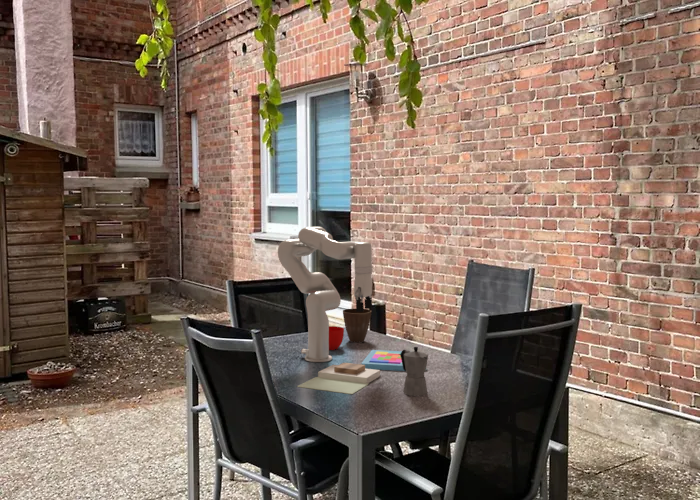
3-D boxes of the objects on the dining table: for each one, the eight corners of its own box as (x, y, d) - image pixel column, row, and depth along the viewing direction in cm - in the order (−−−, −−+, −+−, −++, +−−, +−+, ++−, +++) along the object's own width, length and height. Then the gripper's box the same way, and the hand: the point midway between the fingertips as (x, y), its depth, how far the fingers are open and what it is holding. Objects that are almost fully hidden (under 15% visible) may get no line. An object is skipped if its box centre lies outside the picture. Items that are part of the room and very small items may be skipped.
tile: (334, 371, 291) (334, 367, 290) (343, 367, 299) (343, 362, 298) (356, 374, 286) (356, 369, 286) (365, 369, 294) (365, 364, 294)
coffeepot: (436, 395, 266) (436, 348, 265) (417, 399, 261) (417, 351, 259) (410, 386, 279) (410, 341, 277) (391, 389, 273) (391, 344, 272)
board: (318, 377, 291) (318, 371, 290) (333, 370, 303) (333, 364, 303) (366, 384, 281) (366, 377, 281) (380, 376, 294) (380, 370, 294)
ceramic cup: (352, 346, 352) (352, 326, 351) (335, 352, 337) (335, 332, 336) (330, 343, 358) (330, 324, 358) (312, 349, 344) (312, 329, 343)
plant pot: (371, 344, 357) (371, 313, 355) (342, 344, 357) (342, 313, 356) (370, 338, 371) (371, 308, 370) (342, 338, 372) (343, 308, 370)
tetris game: (361, 369, 306) (425, 373, 301) (361, 363, 306) (425, 366, 301) (371, 355, 334) (430, 358, 328) (372, 349, 334) (430, 352, 328)
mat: (297, 386, 276) (297, 386, 276) (316, 377, 291) (316, 376, 291) (352, 394, 266) (352, 393, 266) (368, 384, 281) (368, 383, 281)
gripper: (362, 269, 312) (363, 307, 313) (347, 272, 296) (348, 312, 297) (378, 269, 309) (379, 307, 310) (363, 272, 293) (364, 313, 294)
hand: (364, 310), depth 303 cm, fingers open, 9 cm apart
